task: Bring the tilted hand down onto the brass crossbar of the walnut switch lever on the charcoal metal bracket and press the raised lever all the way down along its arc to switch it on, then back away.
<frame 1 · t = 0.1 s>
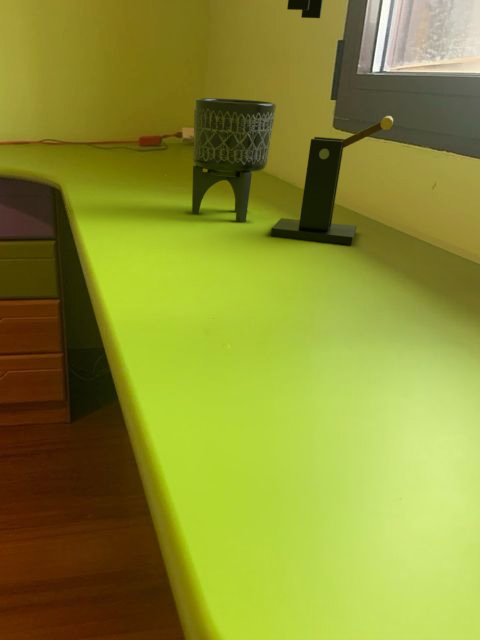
hand: (304, 14, 97), 29 cm above the table, tool pointing down, fingers open, 13 cm apart
bracket: (313, 234, 107), on the table
lever: (353, 138, 99), point 14 cm above the table, hinge at 30.0°
planter: (225, 216, 118), on the table
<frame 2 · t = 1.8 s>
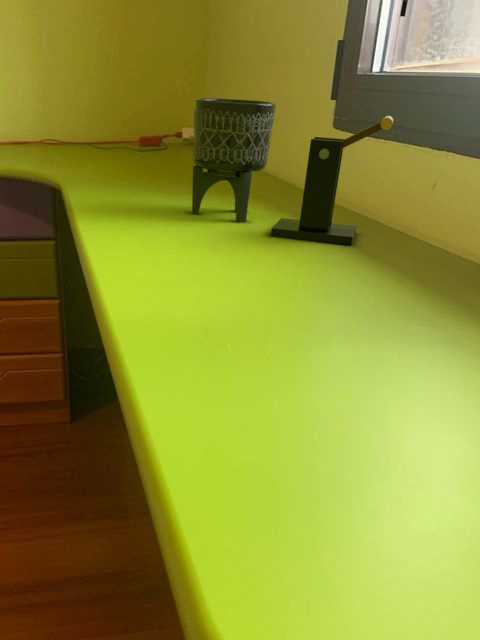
hand: (450, 10, 104), 32 cm above the table, tool tilted 45°, fingers open, 13 cm apart
nothing on the table moved.
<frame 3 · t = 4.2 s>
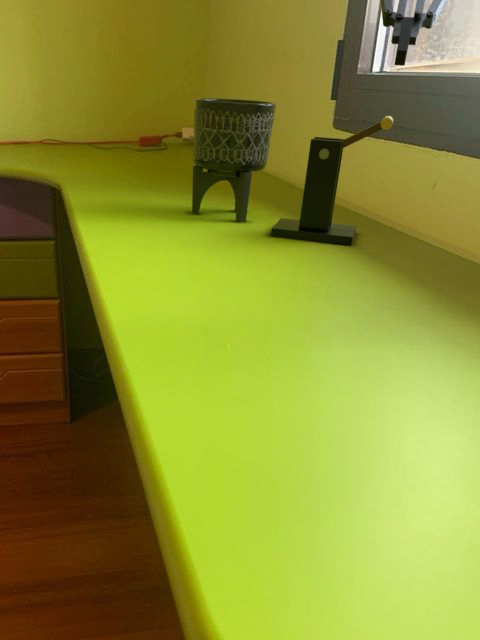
hand: (400, 57, 104), 25 cm above the table, tool tilted 45°, fingers closed
nothing on the table moved.
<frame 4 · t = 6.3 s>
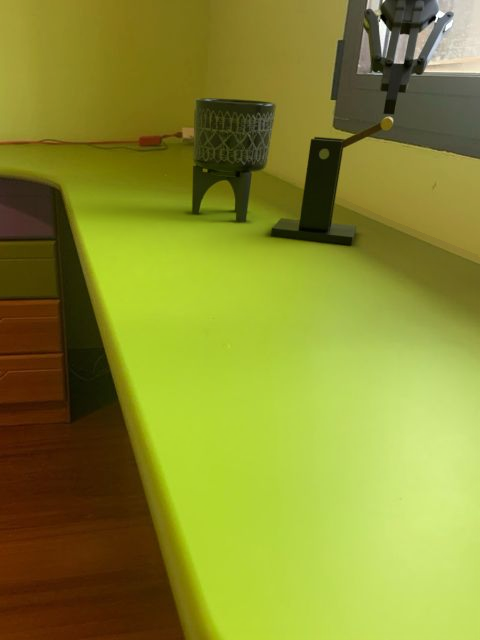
hand: (389, 106, 98), 18 cm above the table, tool tilted 45°, fingers closed
lever: (353, 139, 99), point 14 cm above the table, hinge at 29.6°, touching gripper
everything else where it was.
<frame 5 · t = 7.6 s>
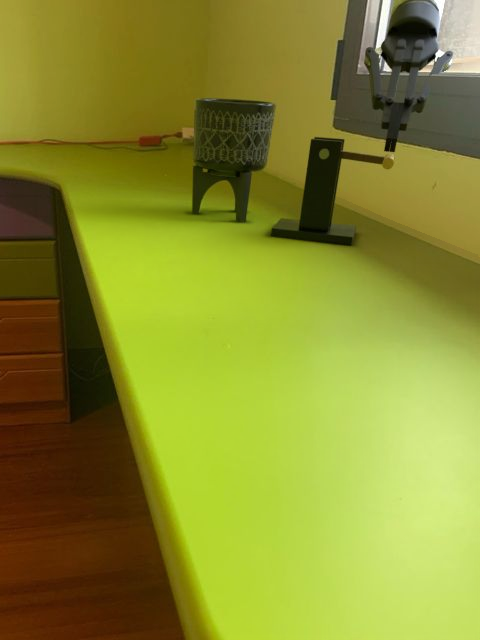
hand: (390, 145, 100), 13 cm above the table, tool tilted 45°, fingers closed
lever: (354, 156, 100), point 12 cm above the table, hinge at -3.5°, touching gripper
everything else where it was.
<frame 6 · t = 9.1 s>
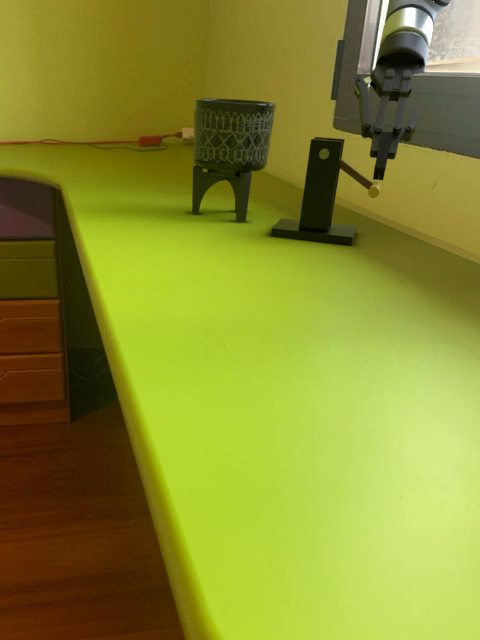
hand: (378, 173, 102), 9 cm above the table, tool tilted 45°, fingers closed
lever: (348, 169, 101), point 10 cm above the table, hinge at -30.3°, touching gripper
everything else where it was.
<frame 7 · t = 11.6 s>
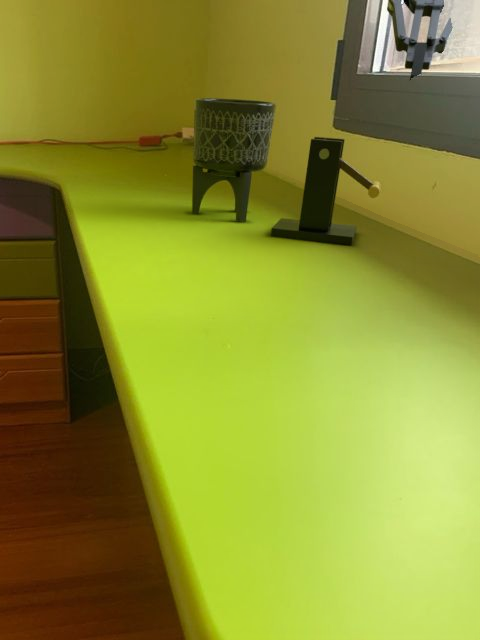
hand: (414, 82, 105), 22 cm above the table, tool tilted 45°, fingers closed
lever: (348, 169, 101), point 10 cm above the table, hinge at -30.3°
everything else where it was.
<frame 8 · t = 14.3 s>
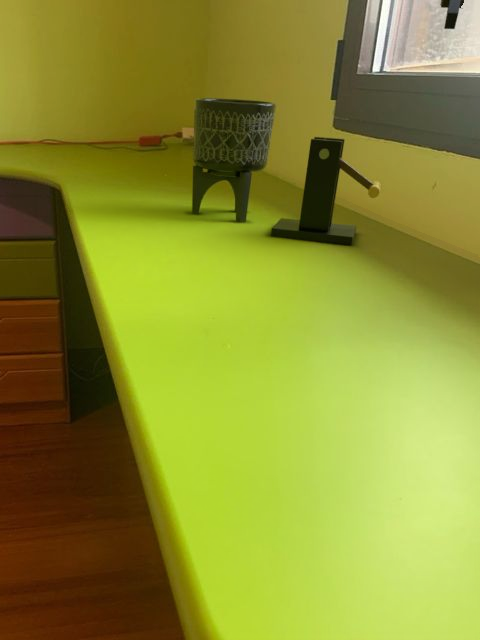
hand: (451, 21, 102), 30 cm above the table, tool tilted 45°, fingers closed
nothing on the table moved.
at the end: lever at -30° (first picture: +30°); planter moved 0.2 cm from its start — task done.
